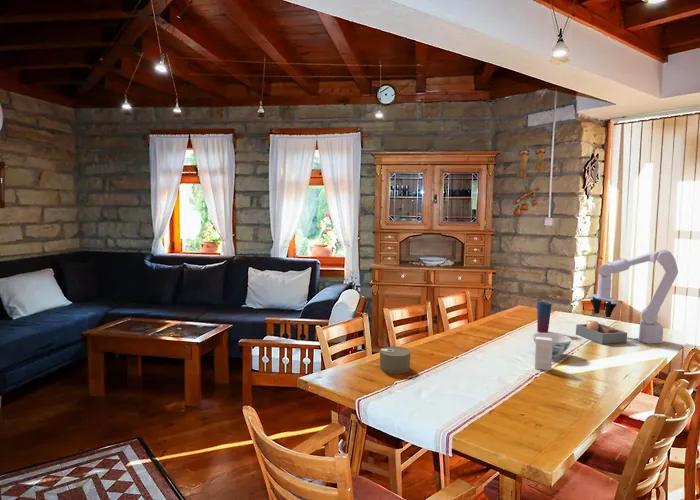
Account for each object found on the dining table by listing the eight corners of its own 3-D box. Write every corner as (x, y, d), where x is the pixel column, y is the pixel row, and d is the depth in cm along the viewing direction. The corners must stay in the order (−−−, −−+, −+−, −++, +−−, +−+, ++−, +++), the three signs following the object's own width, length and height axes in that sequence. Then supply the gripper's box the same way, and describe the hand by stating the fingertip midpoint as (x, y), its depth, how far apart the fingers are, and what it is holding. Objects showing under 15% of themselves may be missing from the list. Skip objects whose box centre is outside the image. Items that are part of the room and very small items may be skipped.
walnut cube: (609, 337, 231) (610, 327, 231) (616, 340, 226) (617, 330, 226) (600, 337, 230) (601, 327, 230) (607, 340, 225) (608, 330, 225)
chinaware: (575, 355, 204) (576, 337, 204) (562, 363, 194) (563, 344, 193) (540, 347, 215) (541, 330, 214) (526, 354, 204) (527, 337, 203)
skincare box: (550, 367, 188) (552, 337, 187) (551, 370, 184) (553, 340, 183) (533, 365, 190) (535, 336, 189) (534, 368, 186) (536, 338, 185)
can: (405, 375, 177) (406, 357, 176) (375, 371, 181) (375, 353, 180) (413, 365, 188) (414, 348, 187) (384, 361, 192) (384, 344, 191)
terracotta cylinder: (594, 334, 236) (594, 320, 235) (599, 337, 231) (600, 323, 230) (584, 334, 236) (584, 320, 235) (589, 337, 231) (590, 323, 230)
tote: (598, 333, 241) (599, 323, 240) (626, 343, 224) (627, 332, 223) (575, 334, 238) (576, 324, 237) (601, 344, 221) (602, 334, 220)
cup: (547, 330, 245) (549, 301, 243) (551, 333, 238) (553, 304, 236) (533, 329, 245) (535, 301, 244) (537, 333, 239) (539, 303, 237)
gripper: (586, 285, 242) (585, 312, 243) (608, 291, 228) (606, 319, 229) (598, 285, 243) (596, 311, 245) (620, 290, 229) (618, 318, 231)
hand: (602, 315), depth 237 cm, fingers open, 7 cm apart
